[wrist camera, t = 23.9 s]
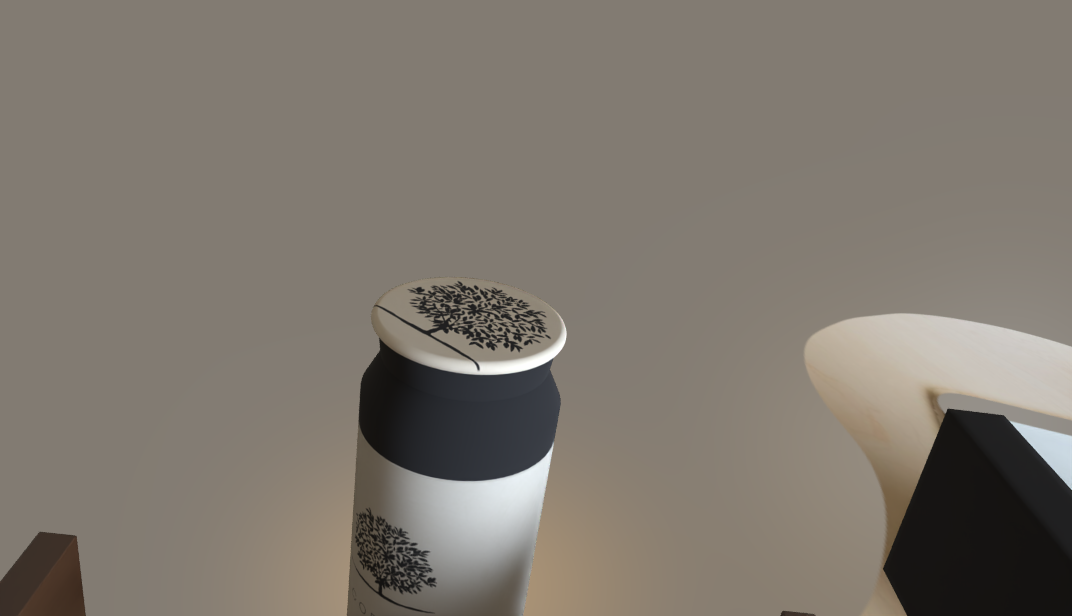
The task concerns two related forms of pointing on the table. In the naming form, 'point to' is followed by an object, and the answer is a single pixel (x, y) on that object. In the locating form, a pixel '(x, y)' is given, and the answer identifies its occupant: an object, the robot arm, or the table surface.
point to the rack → (60, 580)
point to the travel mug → (453, 449)
